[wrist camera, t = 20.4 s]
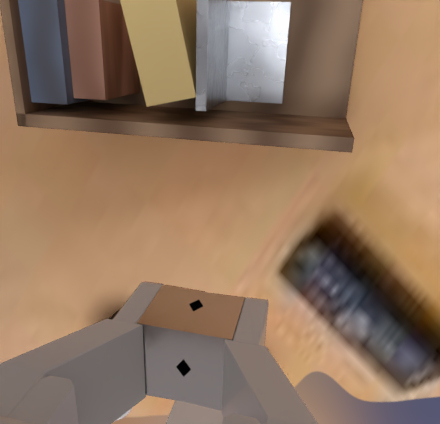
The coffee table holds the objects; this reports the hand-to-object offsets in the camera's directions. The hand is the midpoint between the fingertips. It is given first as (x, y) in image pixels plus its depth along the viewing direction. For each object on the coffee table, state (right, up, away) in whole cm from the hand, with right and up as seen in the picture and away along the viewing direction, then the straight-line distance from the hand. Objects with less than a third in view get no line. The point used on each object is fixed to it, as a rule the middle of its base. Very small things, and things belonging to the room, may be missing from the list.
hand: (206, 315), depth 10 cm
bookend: (+3, +16, +26) cm, 31 cm away
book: (-2, +17, +27) cm, 32 cm away
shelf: (-1, +17, +28) cm, 33 cm away
